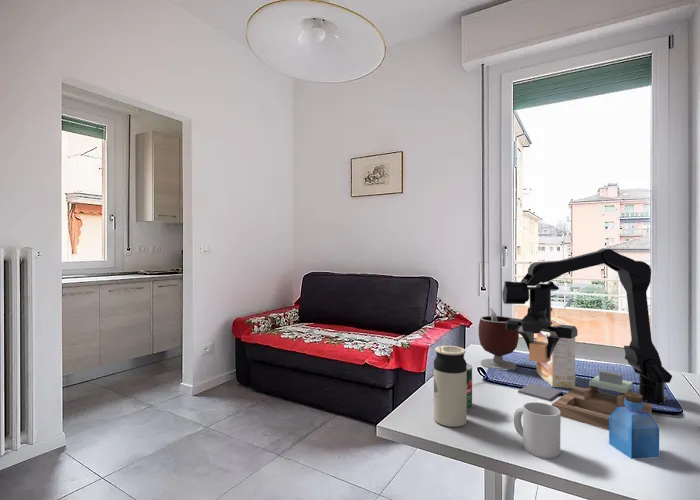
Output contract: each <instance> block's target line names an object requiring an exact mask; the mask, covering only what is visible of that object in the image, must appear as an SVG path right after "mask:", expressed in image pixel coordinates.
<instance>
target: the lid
mask: <svg viewBox="0 0 700 500" xmlns="http://www.w3.org/2000/svg"><path fill="white" fill-rule="evenodd" d="M633 384H634V383H633V381H630V380H629V381H628V380H624V379H623V373H619V372H614V371H607V370H603V369H601V370H599V373H598V374H597V375H595V376H594V377H593V378H592V379H590V380H589V381H588V386H594V387H598V389H602V390H609V391H613V392H617V393H620V394H621V393H626V392H627V391H628V390H629V391H630V389H631V388H632V387H633Z"/></svg>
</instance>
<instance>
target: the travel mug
mask: <svg viewBox="0 0 700 500" xmlns="http://www.w3.org/2000/svg"><path fill="white" fill-rule="evenodd" d="M434 351H435V353H436V356H435V358H434V360H433V420H434V421H435V422H436V423H437V424H440V425H442V426H445V427H448V428H450V427H451V428H457V427H462V426H464V425H465V424H467V416H468V415H467V411H468V410H467V364H468V363H467V361H466V359H465V354H466V349H465V348H463V347H460V346H456V345H440V346H439V345H438V346H436V347H435V348H434Z"/></svg>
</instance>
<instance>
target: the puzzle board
mask: <svg viewBox="0 0 700 500" xmlns="http://www.w3.org/2000/svg"><path fill="white" fill-rule="evenodd" d="M627 392H630V389H629V390H628V391H627ZM624 398H626V397H625V393H621V392H620V394H619V395H614V394H610V393H606V392H603V391H599V387H594V386H590V385H588V387H587V388H585V387H580V386H575V387H574V388H573V389H572V388H571V389H570V390H569V391H568V392H566V393H565V394H564V395H562V396H561V397H559V398H558V399H556V400H555V401H554V402H553V403H551V405H552V406H554V407H556V408H558V409H559V410H560V412H561V416H560V417H562V418H566V419H568V420H569V419H570V420H573V421H576V422H580V423H584V424H587V425H588V426H589V425H590V426H593V427H596V428H601V429H604V430H608V431H609V416H610V415H611V414H612V413H613V411H614V410H615V409H616V408H617V407H625V404H624ZM643 402H644V407H643V408H642V410H643V411H645V412H647V413H649V414H650V415H651V416H652V413H653V411H652V410H653V407H652V406H653V403H650V402H645V401H643Z"/></svg>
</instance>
